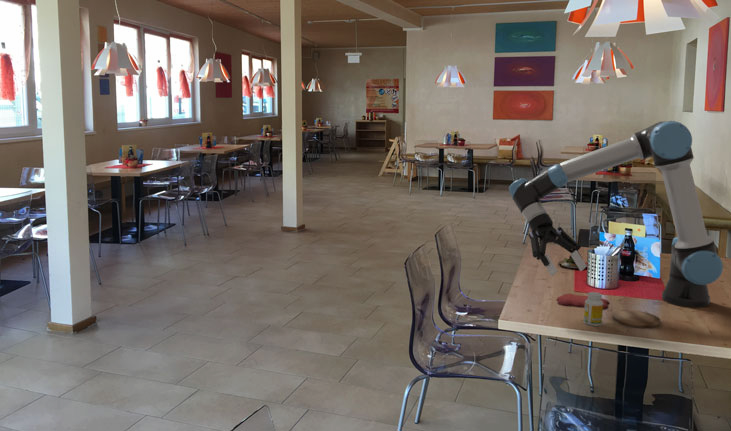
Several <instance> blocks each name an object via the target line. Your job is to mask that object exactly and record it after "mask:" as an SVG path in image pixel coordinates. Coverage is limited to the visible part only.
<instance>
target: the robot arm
mask: <svg viewBox="0 0 731 431" xmlns="http://www.w3.org/2000/svg"><path fill="white" fill-rule="evenodd" d="M692 145H693V136H692V133H691V131H690V130H689V128H688V127H687V126H686V125H685V124H683V123H681V122H679V121H675V120H667V121H666V120H665V121H659V122H656V123H654V124H653V125H650V126H648V127H647V128H644V129H642V130H639V131H637V132H635V133H634V132H633V133H632V134H631V136H630V137H629V138H626V139H624V140H621V141H618V142H615V143H612V144H609V145H607V146H604V147H602V148H597V149H596V150H593V151H590V152H587V153H585V154H582V155H579V156H577V157H574V158H570V159H567V160H565V161H562V162H560V163H555V164H554V165H551V166H546V167H544V168H542V169H541V170H540V171H539V173H538V175H537V176H535V177H534V178H532V179H530V180H528V179H527V178H520V179H516V180H515V181H513V182H512V183H511V184H510V185H509V187H508V191H509V194H510V196H511V199H512V200H513V202H514V203H515V205H516V207H517V208H518V210H519V212H520V213H521V215H522V217H523V218H524V220H525V222H526V223H527V224H528V227H529V229H530V232H529V233H528V236H529V239H530V244H531V252H532V257H533V258H535V259H536V260H537V261H541V262H542V264H543V266H544V267H545V268H546V269H547V270H546V271H547V272H548V273H549V275H550V276H551V277H553V276H554V275H555V274H556V273H557V272H558V269H557V267H556V266H555V264H554V262H553V261H552V259H551V258H550V256H549V254H546V250H547V244H549V243H553V244H557V245H558V246H560V247H561V248H563V249H565V250H566V251H567V252H569V253H571V254H570V255H571V257H572V258H573V260H574V262H575V263H576V265H577V266H578V268H577V269H578V270H579V271H580V272H583V271H584V269H585V268H586V267H587V268H588V265H587V266H586V264H587V263H586V262H585V261H584V259H583V257H582V255H581V253H580V252H579V250H580V249H581V248H582V247H581V245H580V244H579V243H578V242H576V240H574V239H573V238H572V237H571V236H570V234H569V235H568V233H567V232H566V231H564V229H563V227H561V226H558V228H555V227H554V225H553V222H554V221H553V220H552V218H551V216H550V215H549V213H548V212H547V210H546V208H545V206H544V205H543V203H542V202H541V200H542V199H544V197H546V196H548V195H550V194H551V193H553V192H554V191H557V190H558V189H560V188H563V187H564V186H565V185H566V184H567V183H570V182H572V181H575V180H578V179H582V178H585V177H587V176H589V175H593V174H596V173H599V172H601V171H604V170H607V169H608V170H609V169H610V168H614V167H616V166H619V165H621V164H622V165H623V164H625V163H627V162H630V161H634V160H637V159H640V160H645V159H648V158H652V160H653V163H654V168H657V169H658V170H659V171H660V172H661V176H662V180H663V183H664V187H665V189H664V190H665V192H666V196H667V200H668V204H669V209H670V212H671V217H672V220H673V224H674V227H675V228H674V229H675V233H676V236H675V237H673V239H672V243H671V251H670V252H671V255H670V266H669V267H670V268H669V275H668V276H669V278H668V280H667V283H666V285H665V288H664V289H663V290H662V292H661V293H662V294H661V299H662V300H663V301H664V302H666V303H668V304H672V305H676V306H679V307H689V308H705V307H704V306H706V307H708V305H709V304H711V297H710V294H709V288H708V285H709V284H713V283H714V282H716V281H717V280H718V279H719V278H720V277H721V275H722V273H723V269H724V264H723V261H722V259H721V257H720V256H719V255H718V253H717V247H716V245H715V241H714V238H713V237H711V236H709V235H708V234H707V230H706V225H705V221H704V217H703V214H702V209H701V204H700V201H699V196H698V194H697V193H698V192H697V189H696V184H695V179H694V176H693V172H692V169H691V168H692V167H691V164H692V161H694V154H693V150H692ZM585 263H586V264H585ZM587 268H586V269H587ZM586 269H585V270H586ZM709 306H710V305H709Z"/></svg>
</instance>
